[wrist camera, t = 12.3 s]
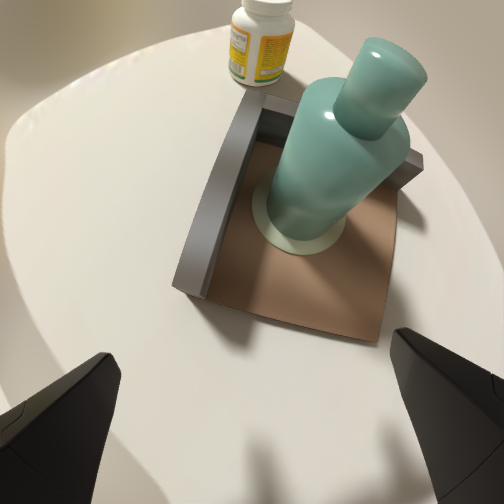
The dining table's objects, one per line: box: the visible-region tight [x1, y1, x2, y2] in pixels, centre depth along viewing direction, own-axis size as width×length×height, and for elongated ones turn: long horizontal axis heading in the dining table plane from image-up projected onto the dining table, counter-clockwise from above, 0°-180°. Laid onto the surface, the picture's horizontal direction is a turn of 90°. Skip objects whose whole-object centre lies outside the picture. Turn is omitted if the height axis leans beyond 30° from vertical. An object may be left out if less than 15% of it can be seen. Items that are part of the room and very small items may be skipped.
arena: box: [171, 89, 424, 342], centre depth 18 cm, size 14×14×5 cm
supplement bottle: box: [229, 0, 295, 86], centre depth 19 cm, size 5×5×10 cm
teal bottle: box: [266, 37, 427, 241], centre depth 13 cm, size 5×5×14 cm
